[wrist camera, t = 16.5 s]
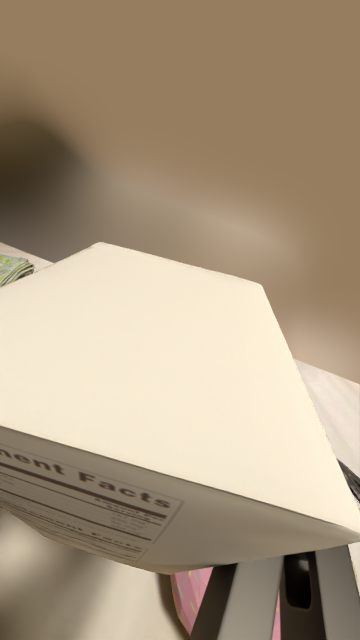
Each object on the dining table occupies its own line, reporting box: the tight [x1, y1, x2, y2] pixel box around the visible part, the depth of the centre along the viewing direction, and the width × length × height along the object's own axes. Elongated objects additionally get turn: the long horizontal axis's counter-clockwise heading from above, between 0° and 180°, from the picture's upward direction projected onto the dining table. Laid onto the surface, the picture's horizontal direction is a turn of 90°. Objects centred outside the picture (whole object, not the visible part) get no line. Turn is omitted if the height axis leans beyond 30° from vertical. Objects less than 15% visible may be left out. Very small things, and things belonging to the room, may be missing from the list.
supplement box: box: [0, 242, 360, 575], centre depth 11 cm, size 10×9×17 cm
